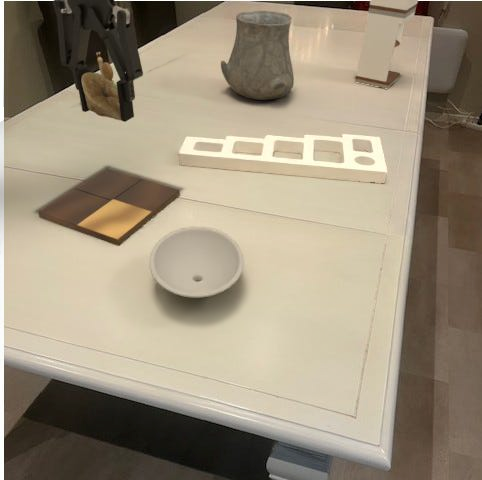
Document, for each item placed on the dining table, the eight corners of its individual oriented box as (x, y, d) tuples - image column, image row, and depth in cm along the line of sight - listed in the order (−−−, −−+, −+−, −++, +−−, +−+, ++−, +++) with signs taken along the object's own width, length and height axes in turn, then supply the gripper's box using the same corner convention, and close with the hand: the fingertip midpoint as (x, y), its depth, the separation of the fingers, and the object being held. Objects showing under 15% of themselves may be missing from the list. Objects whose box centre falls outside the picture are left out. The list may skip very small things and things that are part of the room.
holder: (178, 164, 106) (178, 153, 104) (194, 131, 119) (193, 121, 118) (384, 183, 104) (387, 172, 102) (376, 147, 117) (379, 137, 115)
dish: (155, 250, 83) (153, 226, 79) (238, 250, 84) (239, 225, 81) (148, 322, 70) (145, 297, 67) (246, 320, 71) (248, 295, 68)
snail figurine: (113, 97, 134) (106, 50, 126) (125, 104, 131) (120, 56, 122) (95, 101, 131) (88, 53, 123) (108, 108, 128) (101, 60, 120)
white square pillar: (387, 89, 148) (421, -52, 124) (354, 82, 151) (381, -57, 127) (398, 79, 155) (431, -56, 131) (366, 73, 159) (393, -60, 135)
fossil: (83, 92, 78) (84, 60, 84) (69, 111, 81) (71, 78, 86) (129, 123, 84) (127, 91, 90) (115, 140, 87) (114, 108, 92)
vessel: (242, 113, 129) (245, 29, 115) (211, 86, 144) (211, 9, 130) (312, 104, 136) (323, 24, 122) (276, 79, 151) (282, 5, 137)
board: (39, 217, 89) (37, 211, 88) (107, 173, 102) (106, 167, 101) (118, 245, 84) (117, 239, 83) (180, 195, 97) (179, 189, 96)
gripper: (158, -37, 70) (168, 118, 86) (48, -51, 77) (76, 96, 92) (127, -31, 65) (144, 133, 81) (12, -46, 72) (48, 109, 87)
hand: (108, 113), depth 87 cm, fingers closed on fossil, 8 cm apart
